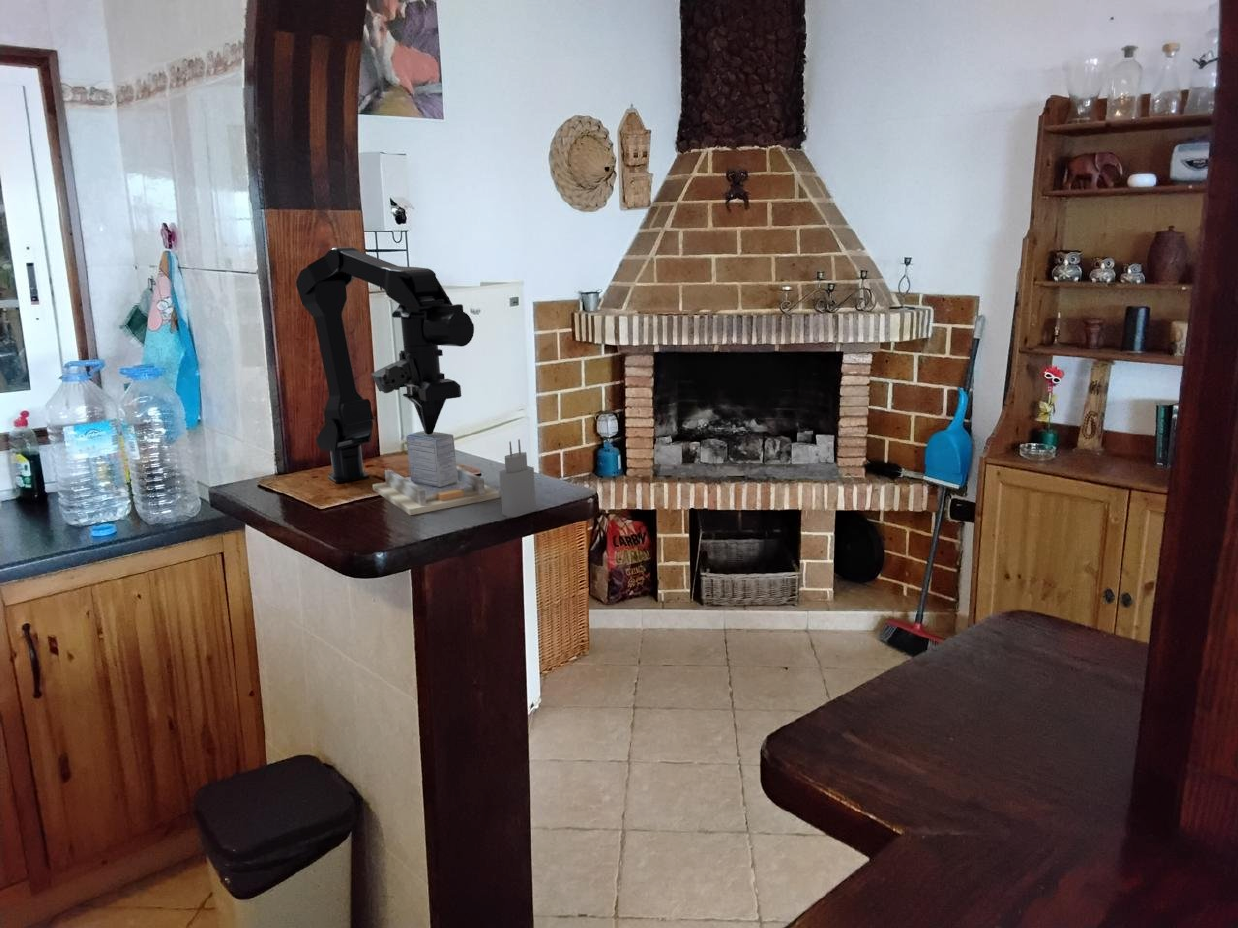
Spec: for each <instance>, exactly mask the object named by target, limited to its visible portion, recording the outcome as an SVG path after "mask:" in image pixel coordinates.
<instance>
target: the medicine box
mask: <svg viewBox="0 0 1238 928" xmlns="http://www.w3.org/2000/svg"><path fill="white" fill-rule="evenodd" d="M405 437H406V448H407V457H408V466H409V467H408V468H409V477H411V482H416V483H422V484H427V485H432V486H437V487H443V486H446V485H449V484H453V483H456V482H457V481H458V475H457V466H458V465H457V457H456V448H455V438H454V435H453V434H451V433H444V432H437V431H433V433H432V434H425V432H424V430H422V431H418V432H414V433H411V434H408V435H406V436H405Z"/></svg>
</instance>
